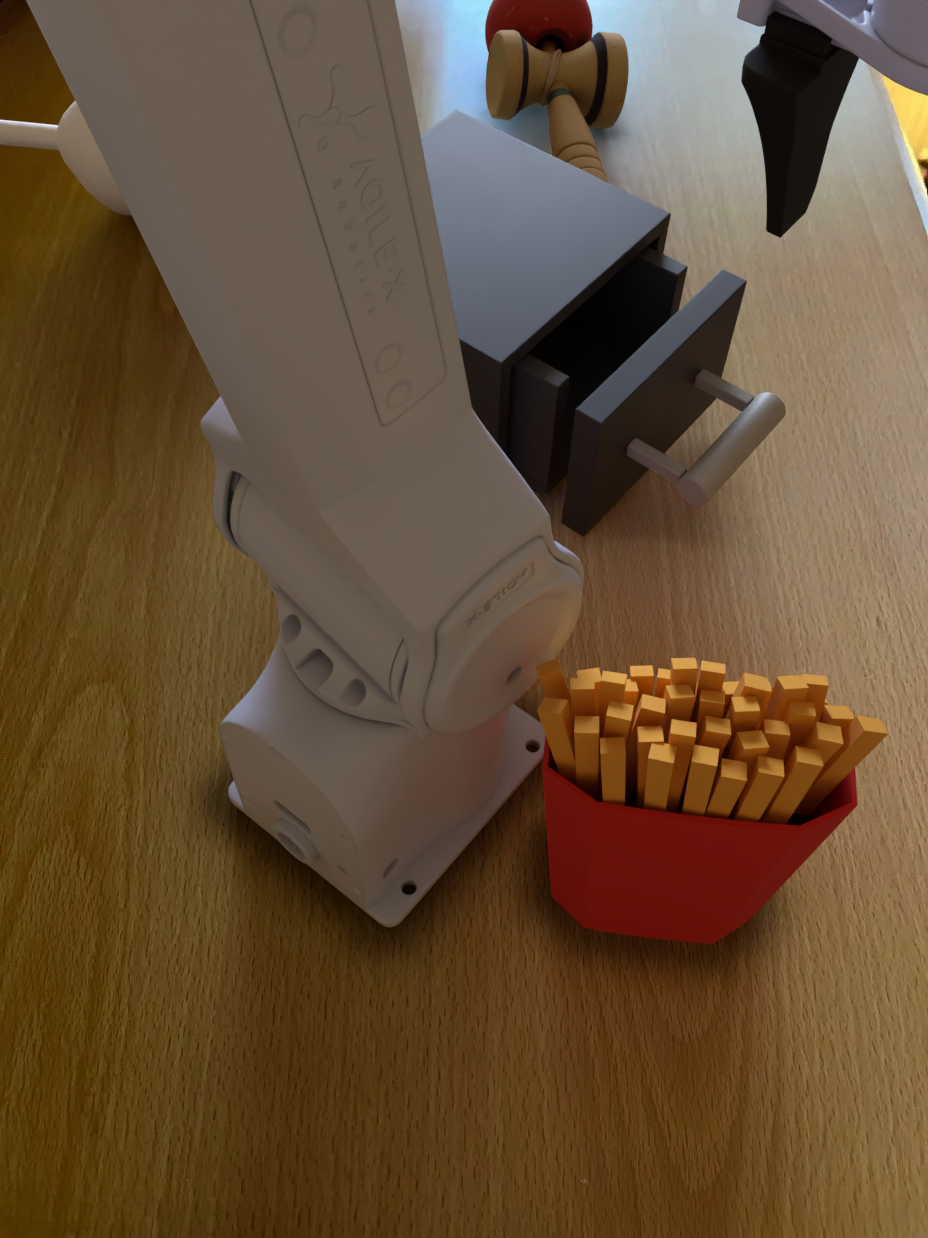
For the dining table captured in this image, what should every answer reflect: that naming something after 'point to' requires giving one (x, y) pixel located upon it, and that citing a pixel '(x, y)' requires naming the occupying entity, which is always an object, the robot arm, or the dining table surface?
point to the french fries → (689, 792)
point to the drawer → (633, 391)
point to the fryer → (522, 246)
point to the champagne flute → (70, 152)
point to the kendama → (556, 73)
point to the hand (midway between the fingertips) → (873, 262)
